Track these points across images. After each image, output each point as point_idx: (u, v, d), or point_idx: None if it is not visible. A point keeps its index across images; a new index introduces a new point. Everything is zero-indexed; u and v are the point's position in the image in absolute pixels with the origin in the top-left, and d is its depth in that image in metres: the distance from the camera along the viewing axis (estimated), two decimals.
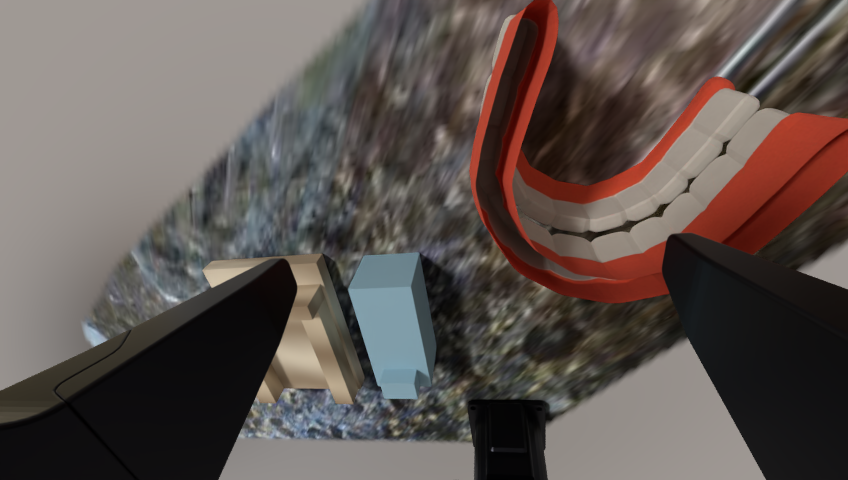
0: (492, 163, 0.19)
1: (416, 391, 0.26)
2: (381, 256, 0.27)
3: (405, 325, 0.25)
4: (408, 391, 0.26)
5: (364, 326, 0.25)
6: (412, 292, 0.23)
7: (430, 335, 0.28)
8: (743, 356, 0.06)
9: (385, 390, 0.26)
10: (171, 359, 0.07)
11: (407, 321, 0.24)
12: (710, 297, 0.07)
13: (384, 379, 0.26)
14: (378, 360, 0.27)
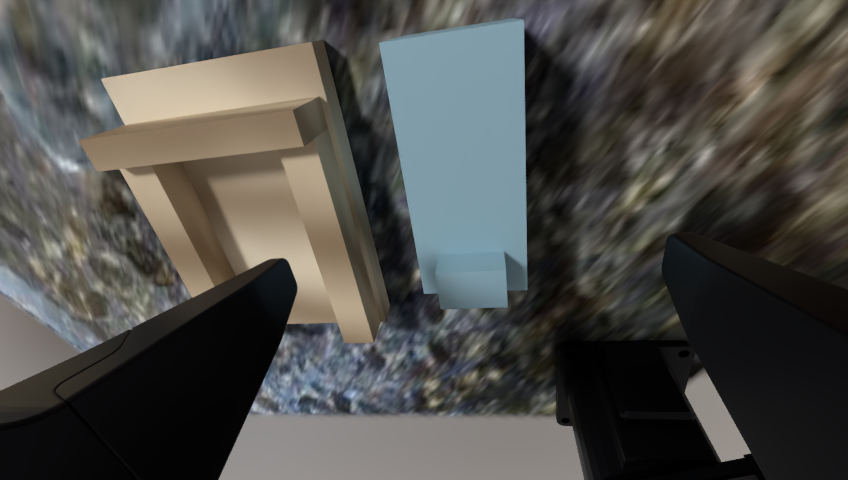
0: None
1: None
2: (437, 30, 0.14)
3: (496, 138, 0.12)
4: (492, 289, 0.13)
5: (408, 148, 0.12)
6: None
7: None
8: (743, 356, 0.06)
9: (444, 290, 0.14)
10: (171, 359, 0.07)
11: (502, 126, 0.12)
12: (710, 297, 0.07)
13: (443, 267, 0.13)
14: (430, 233, 0.14)
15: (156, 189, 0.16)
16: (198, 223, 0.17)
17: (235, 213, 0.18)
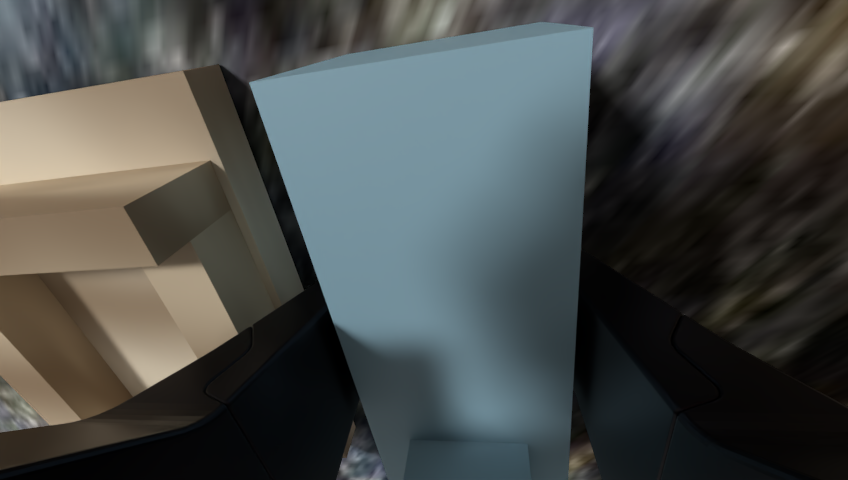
0: None
1: None
2: (403, 45, 0.08)
3: (517, 274, 0.06)
4: None
5: (339, 283, 0.06)
6: None
7: None
8: (582, 357, 0.07)
9: None
10: (302, 358, 0.06)
11: (531, 253, 0.05)
12: None
13: None
14: (392, 411, 0.08)
15: None
16: (55, 337, 0.11)
17: (113, 320, 0.12)
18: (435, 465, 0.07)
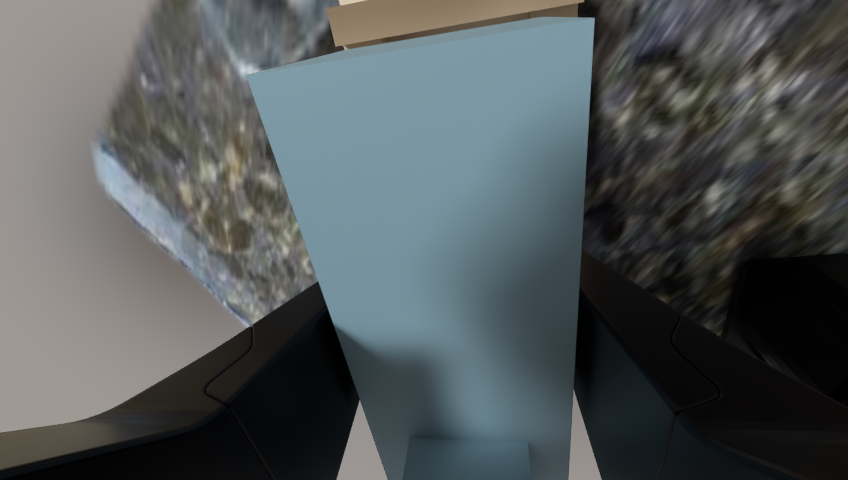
0: None
1: None
2: (403, 40, 0.07)
3: (518, 270, 0.06)
4: None
5: (338, 280, 0.06)
6: (587, 75, 0.04)
7: None
8: (581, 357, 0.07)
9: None
10: (302, 358, 0.06)
11: (531, 248, 0.05)
12: None
13: None
14: (392, 409, 0.08)
15: None
16: None
17: None
18: (435, 463, 0.07)
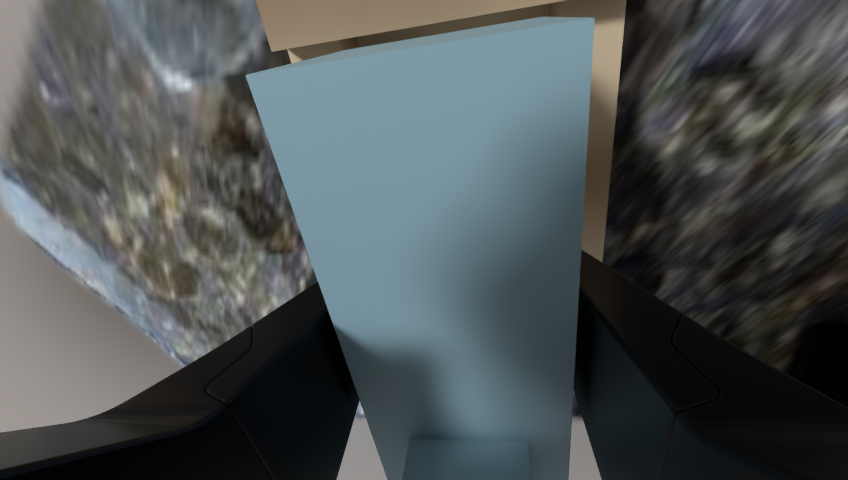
0: None
1: None
2: (402, 40, 0.07)
3: (517, 270, 0.06)
4: None
5: (338, 280, 0.06)
6: (586, 75, 0.04)
7: None
8: (581, 357, 0.07)
9: None
10: (302, 358, 0.06)
11: (531, 248, 0.05)
12: None
13: None
14: (391, 409, 0.08)
15: None
16: None
17: None
18: (434, 464, 0.07)
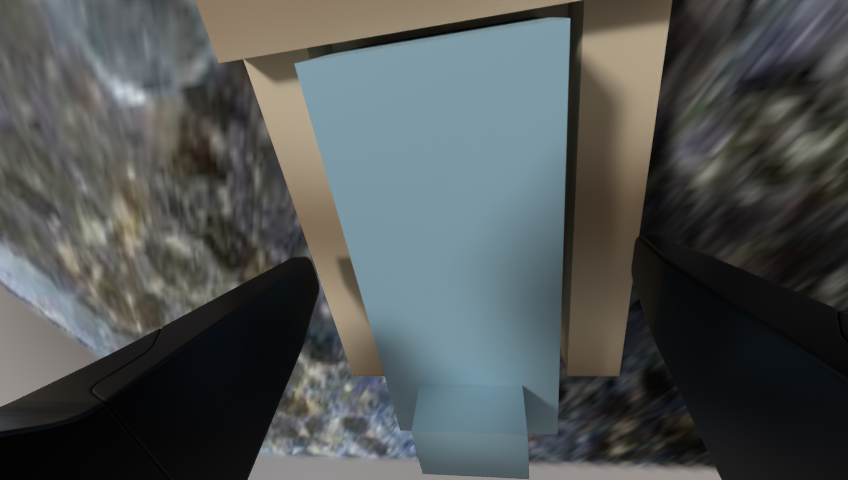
0: None
1: None
2: (414, 37, 0.09)
3: (512, 226, 0.07)
4: (504, 456, 0.08)
5: (362, 238, 0.07)
6: (566, 63, 0.05)
7: None
8: (699, 356, 0.06)
9: (427, 452, 0.08)
10: (203, 359, 0.06)
11: (523, 207, 0.07)
12: (671, 298, 0.07)
13: (425, 417, 0.08)
14: (404, 357, 0.09)
15: None
16: None
17: None
18: (442, 403, 0.09)
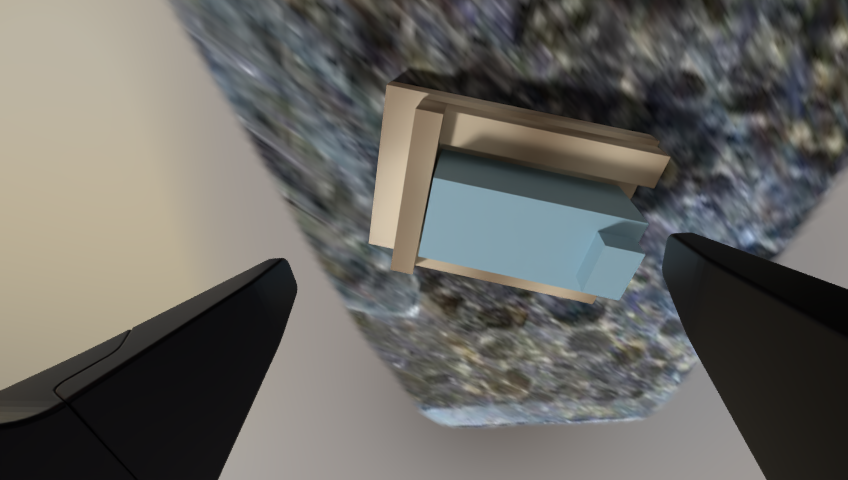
0: None
1: (629, 249, 0.15)
2: None
3: (500, 211, 0.16)
4: (619, 260, 0.15)
5: (484, 264, 0.18)
6: (447, 179, 0.16)
7: (576, 187, 0.18)
8: (744, 356, 0.06)
9: (601, 292, 0.16)
10: (171, 359, 0.07)
11: (493, 205, 0.16)
12: (711, 297, 0.07)
13: (582, 282, 0.16)
14: (554, 275, 0.17)
15: None
16: None
17: None
18: (583, 271, 0.17)
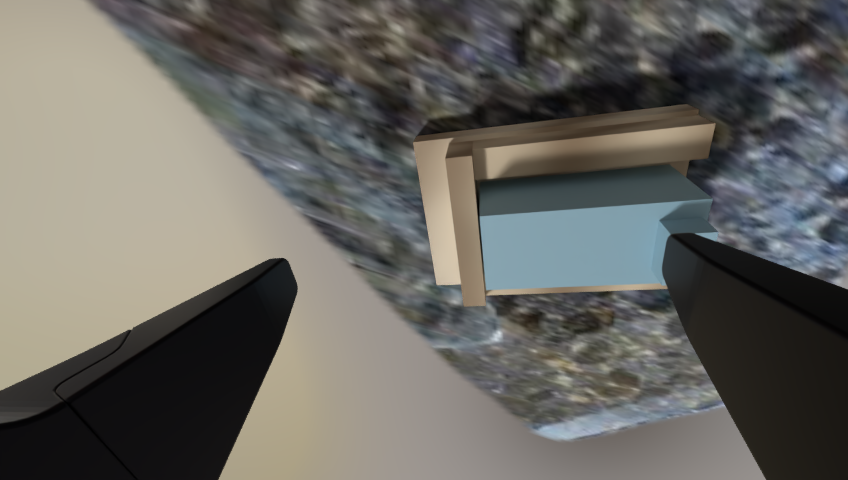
0: None
1: (698, 231, 0.15)
2: None
3: (553, 229, 0.16)
4: None
5: (553, 281, 0.18)
6: (492, 213, 0.17)
7: (623, 180, 0.18)
8: (743, 356, 0.06)
9: None
10: (171, 359, 0.07)
11: (544, 225, 0.16)
12: (710, 297, 0.07)
13: (659, 275, 0.16)
14: (627, 273, 0.17)
15: None
16: None
17: None
18: (657, 264, 0.16)
